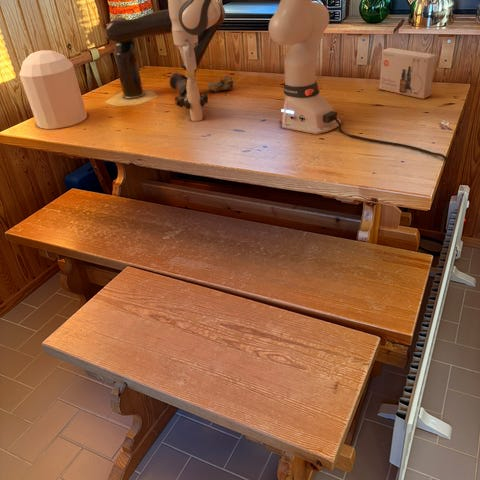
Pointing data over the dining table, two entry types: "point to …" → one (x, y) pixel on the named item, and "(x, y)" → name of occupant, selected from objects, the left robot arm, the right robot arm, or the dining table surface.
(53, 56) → the container
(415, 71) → the skincare box
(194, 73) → the cap
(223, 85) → the rock
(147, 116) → the dining table surface
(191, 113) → the bottle
